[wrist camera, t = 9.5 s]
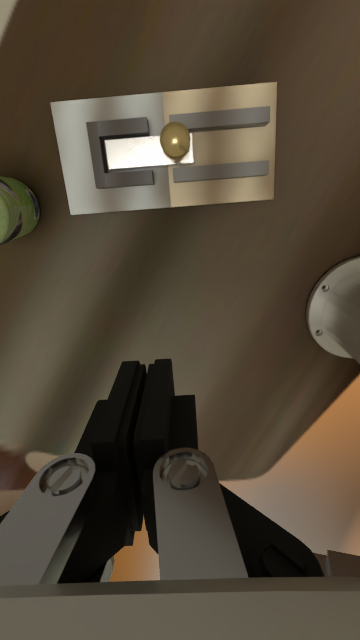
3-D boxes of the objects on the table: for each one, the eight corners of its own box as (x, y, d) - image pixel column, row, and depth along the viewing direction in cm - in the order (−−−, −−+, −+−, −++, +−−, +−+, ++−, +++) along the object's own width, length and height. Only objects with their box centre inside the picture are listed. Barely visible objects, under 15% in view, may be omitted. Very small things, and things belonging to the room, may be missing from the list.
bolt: (191, 136, 30) (193, 119, 24) (192, 164, 31) (195, 154, 25) (108, 143, 30) (90, 128, 24) (112, 171, 31) (95, 162, 25)
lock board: (271, 89, 30) (282, 74, 27) (268, 199, 34) (278, 198, 30) (58, 108, 31) (42, 96, 28) (77, 214, 35) (64, 215, 31)
